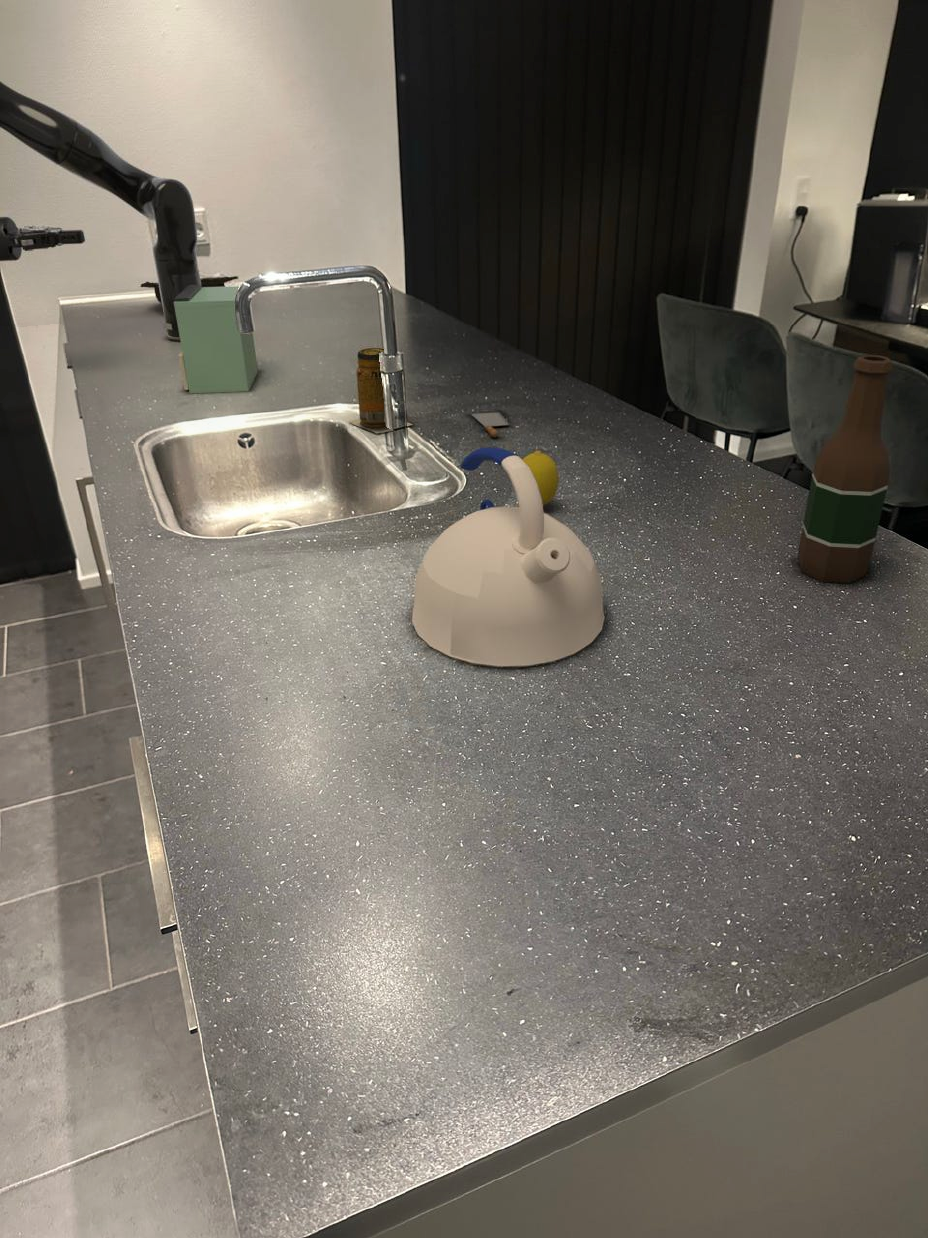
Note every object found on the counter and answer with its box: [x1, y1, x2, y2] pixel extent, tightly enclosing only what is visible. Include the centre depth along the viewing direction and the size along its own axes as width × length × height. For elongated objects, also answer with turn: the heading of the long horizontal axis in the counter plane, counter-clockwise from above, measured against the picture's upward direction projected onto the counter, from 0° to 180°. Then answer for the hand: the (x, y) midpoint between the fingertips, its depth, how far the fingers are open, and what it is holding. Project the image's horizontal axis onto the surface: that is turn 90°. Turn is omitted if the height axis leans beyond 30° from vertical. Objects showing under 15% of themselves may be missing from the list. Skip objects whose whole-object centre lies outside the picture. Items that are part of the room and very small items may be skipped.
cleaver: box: [470, 411, 510, 439], centre depth 150 cm, size 13×1×5 cm
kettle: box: [411, 446, 605, 668], centre depth 91 cm, size 20×21×18 cm
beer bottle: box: [797, 354, 894, 584], centre depth 97 cm, size 8×8×24 cm
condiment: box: [349, 347, 413, 434], centre depth 148 cm, size 7×8×12 cm
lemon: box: [522, 450, 559, 506], centre depth 118 cm, size 6×6×8 cm
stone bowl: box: [140, 275, 239, 304], centre depth 235 cm, size 25×25×9 cm
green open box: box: [174, 285, 259, 394], centre depth 171 cm, size 14×11×17 cm
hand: (83, 236), depth 168 cm, fingers closed
